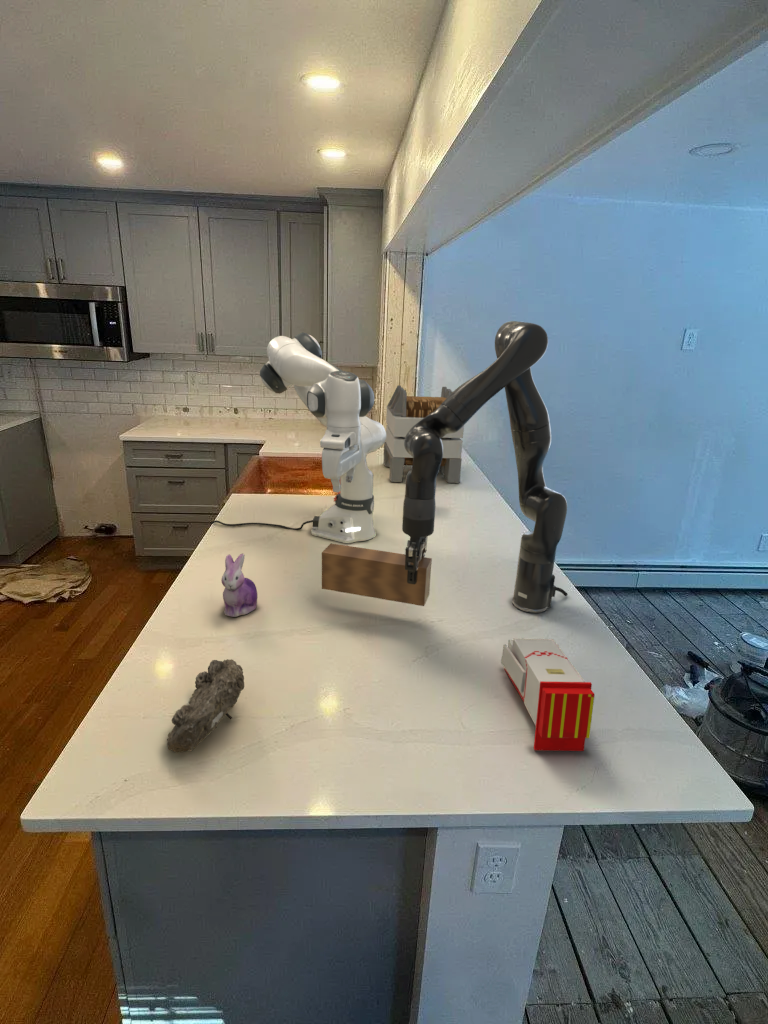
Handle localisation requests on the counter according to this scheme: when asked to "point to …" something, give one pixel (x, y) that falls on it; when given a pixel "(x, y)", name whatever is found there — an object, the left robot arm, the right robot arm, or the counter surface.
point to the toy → (550, 693)
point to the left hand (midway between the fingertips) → (343, 486)
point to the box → (374, 574)
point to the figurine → (237, 589)
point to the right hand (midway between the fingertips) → (415, 577)
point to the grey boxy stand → (403, 418)
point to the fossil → (206, 705)
